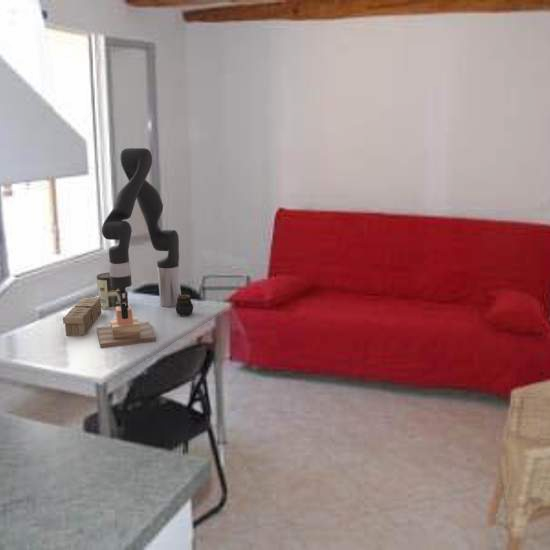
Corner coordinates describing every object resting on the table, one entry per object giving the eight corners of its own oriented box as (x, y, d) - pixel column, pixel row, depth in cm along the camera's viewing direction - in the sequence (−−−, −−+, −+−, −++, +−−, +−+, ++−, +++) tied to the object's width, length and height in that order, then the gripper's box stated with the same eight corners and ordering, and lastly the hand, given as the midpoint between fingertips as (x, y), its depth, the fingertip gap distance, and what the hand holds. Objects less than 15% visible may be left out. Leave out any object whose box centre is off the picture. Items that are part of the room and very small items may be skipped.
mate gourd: (195, 312, 278) (194, 289, 275) (190, 317, 270) (189, 294, 268) (179, 311, 279) (177, 289, 276) (173, 317, 272) (172, 294, 269)
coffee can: (125, 302, 295) (123, 271, 292) (120, 309, 285) (117, 277, 282) (102, 302, 296) (100, 272, 292) (96, 309, 285) (93, 278, 282)
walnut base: (97, 331, 257) (95, 317, 255) (148, 324, 262) (147, 311, 261) (100, 347, 238) (99, 333, 237) (155, 340, 244) (154, 326, 243)
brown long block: (84, 316, 280) (63, 337, 251) (82, 297, 278) (61, 316, 249) (102, 316, 280) (84, 336, 251) (100, 296, 278) (82, 315, 249)
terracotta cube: (116, 320, 251) (115, 307, 249) (131, 319, 252) (130, 305, 251) (118, 325, 246) (116, 310, 244) (132, 323, 247) (131, 309, 246)
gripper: (132, 277, 239) (136, 319, 243) (128, 268, 252) (132, 309, 256) (111, 279, 237) (115, 322, 241) (108, 270, 250) (112, 311, 254)
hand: (124, 315), depth 248 cm, fingers open, 8 cm apart
